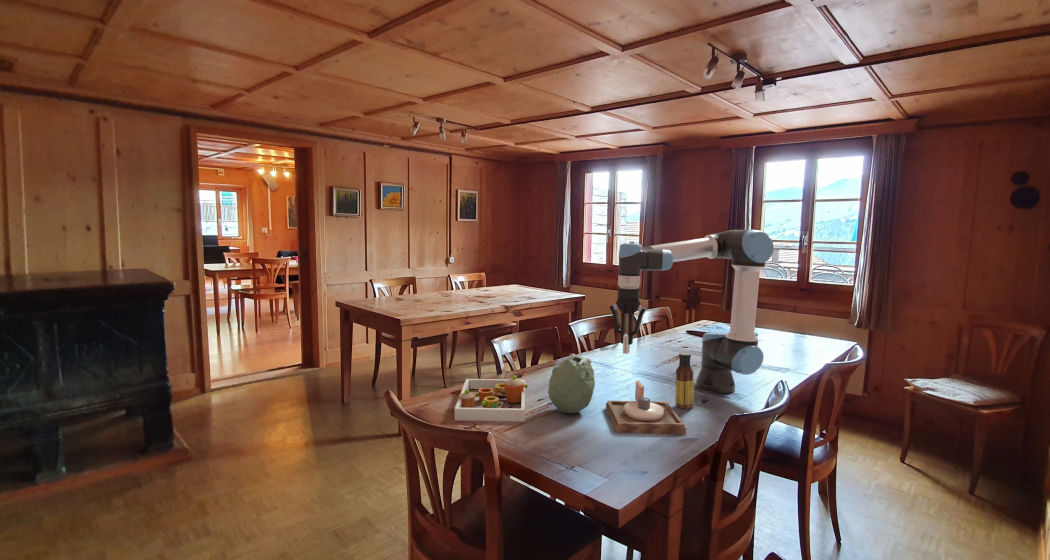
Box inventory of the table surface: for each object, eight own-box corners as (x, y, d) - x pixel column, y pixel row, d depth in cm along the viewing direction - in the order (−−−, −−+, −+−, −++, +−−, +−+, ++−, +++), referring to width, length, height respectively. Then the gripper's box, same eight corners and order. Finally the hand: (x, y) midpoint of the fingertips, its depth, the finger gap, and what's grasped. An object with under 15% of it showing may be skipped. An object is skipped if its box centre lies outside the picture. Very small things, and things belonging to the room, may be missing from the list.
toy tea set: (502, 390, 202) (502, 366, 201) (531, 399, 191) (532, 374, 190) (451, 407, 182) (451, 381, 181) (481, 418, 172) (481, 390, 171)
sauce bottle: (693, 405, 189) (695, 352, 187) (692, 410, 183) (695, 356, 181) (674, 402, 191) (677, 350, 189) (673, 408, 185) (676, 354, 183)
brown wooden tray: (666, 409, 184) (667, 401, 184) (685, 434, 162) (686, 424, 162) (605, 408, 184) (606, 400, 184) (616, 432, 162) (617, 423, 162)
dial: (668, 421, 166) (669, 397, 165) (628, 420, 166) (629, 396, 165) (654, 402, 184) (655, 380, 183) (618, 402, 184) (619, 380, 183)
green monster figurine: (538, 415, 176) (539, 358, 174) (562, 400, 192) (564, 347, 190) (580, 425, 168) (581, 365, 166) (601, 408, 184) (603, 353, 182)
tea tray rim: (524, 389, 204) (524, 379, 203) (524, 421, 170) (524, 409, 170) (466, 388, 204) (466, 378, 203) (454, 420, 170) (454, 408, 170)
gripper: (607, 287, 179) (605, 352, 182) (644, 289, 173) (642, 357, 176) (613, 285, 186) (611, 348, 189) (650, 287, 180) (647, 353, 183)
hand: (626, 352), depth 182 cm, fingers closed
